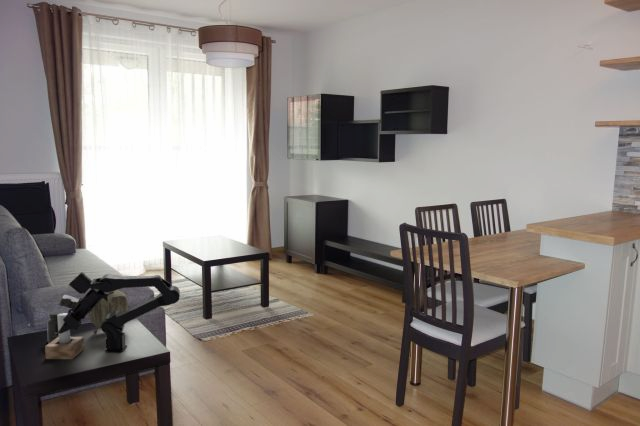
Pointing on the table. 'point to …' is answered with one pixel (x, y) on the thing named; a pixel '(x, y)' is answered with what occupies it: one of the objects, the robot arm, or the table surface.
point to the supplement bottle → (53, 326)
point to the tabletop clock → (108, 308)
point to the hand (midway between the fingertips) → (60, 331)
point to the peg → (64, 337)
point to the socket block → (64, 348)
